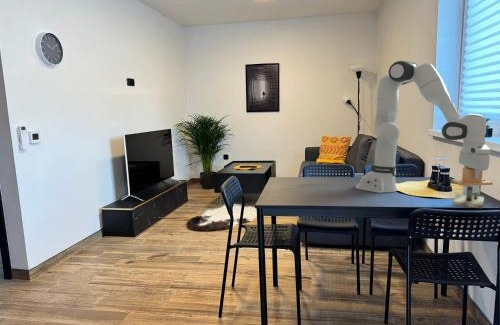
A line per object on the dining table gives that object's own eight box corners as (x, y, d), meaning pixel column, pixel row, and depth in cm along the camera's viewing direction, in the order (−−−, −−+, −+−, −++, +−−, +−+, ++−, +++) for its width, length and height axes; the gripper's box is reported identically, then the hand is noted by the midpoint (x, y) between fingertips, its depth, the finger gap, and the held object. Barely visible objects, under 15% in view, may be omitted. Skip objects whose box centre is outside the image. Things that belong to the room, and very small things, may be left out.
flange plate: (461, 185, 165) (461, 170, 164) (452, 181, 174) (452, 167, 172) (492, 184, 163) (493, 169, 162) (481, 180, 172) (482, 166, 171)
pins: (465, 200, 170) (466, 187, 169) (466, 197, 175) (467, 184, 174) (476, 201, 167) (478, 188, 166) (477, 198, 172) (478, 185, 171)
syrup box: (471, 196, 182) (474, 169, 180) (462, 193, 188) (464, 167, 185) (480, 195, 184) (482, 168, 181) (470, 192, 189) (472, 166, 187)
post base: (452, 204, 168) (453, 201, 168) (456, 196, 183) (456, 193, 182) (482, 208, 161) (482, 205, 161) (484, 199, 176) (484, 196, 175)
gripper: (456, 145, 176) (454, 172, 178) (478, 150, 156) (476, 180, 158) (469, 145, 176) (467, 172, 178) (493, 150, 156) (490, 180, 158)
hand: (471, 176), depth 168 cm, fingers closed on flange plate, 6 cm apart
